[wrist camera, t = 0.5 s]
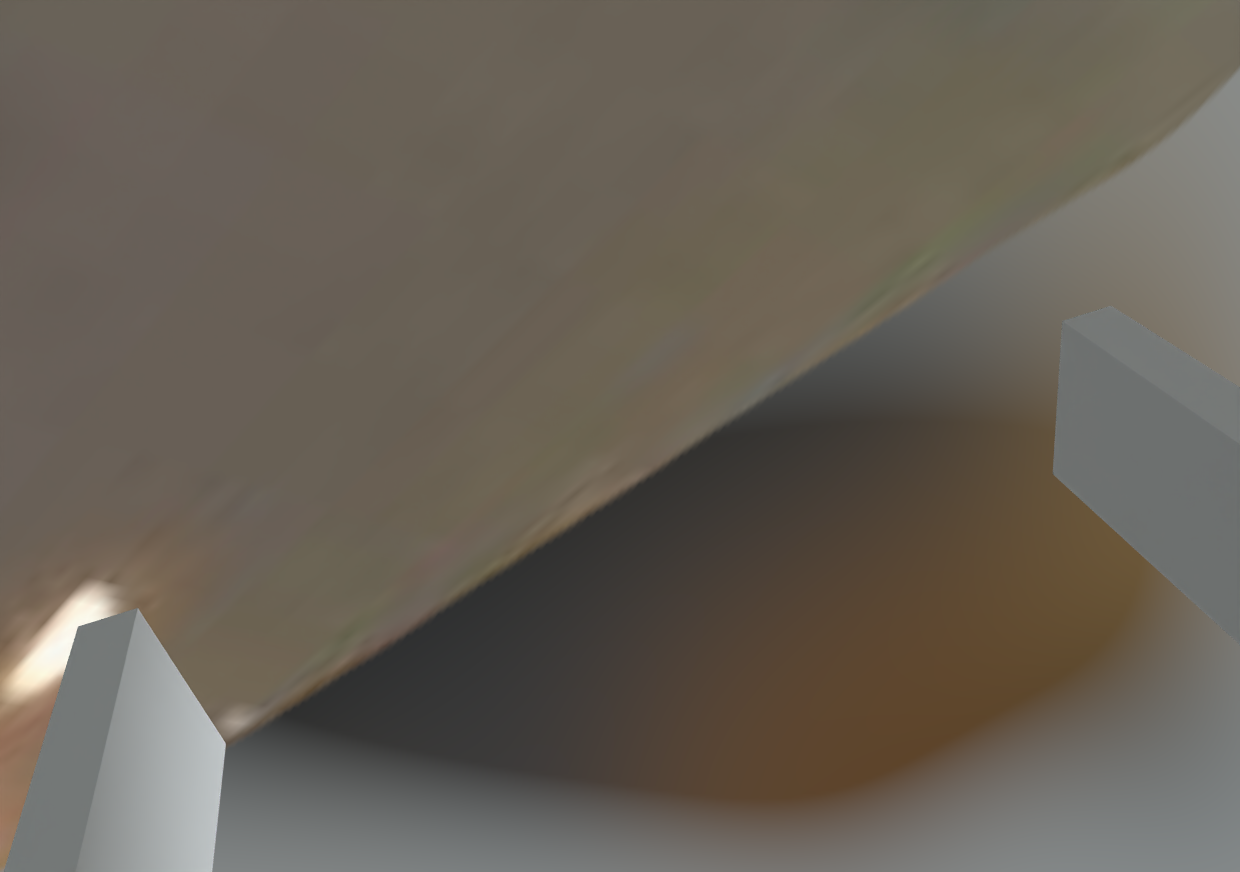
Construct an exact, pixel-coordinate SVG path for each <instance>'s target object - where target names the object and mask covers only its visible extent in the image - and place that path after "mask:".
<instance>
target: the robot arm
mask: <svg viewBox="0 0 1240 872" xmlns="http://www.w3.org/2000/svg"><path fill="white" fill-rule="evenodd" d="M1053 475H1055V476H1056V477H1057V478H1058V479H1059V480H1060V481H1061V482H1062V483H1063V484H1064V485H1065V486H1067V487H1068V488H1069V489H1070V490H1071V491H1072V492H1073V493H1074V494H1075V495H1076V496H1077V497H1079V498H1080V499H1081V500H1082V501H1083V502H1084V503H1085V504H1086V505H1087V506H1088V507H1089V508H1091V509H1092V510H1093V511H1094V512H1095V513H1096V514H1097V515H1098V516H1099V517H1101V518H1102V519H1103V520H1104V521H1105V522H1106V523H1107V524H1108V525H1109V526H1110V527H1111V528H1113V529H1114V530H1115V531H1116V532H1117V533H1118V534H1119V535H1120V536H1121V537H1122V538H1123V539H1125V540H1126V541H1127V542H1128V543H1129V544H1130V545H1131V546H1132V547H1134V549H1135V550H1136V551H1138V552H1139V553H1140V554H1141V555H1142V556H1143V557H1144V558H1145V559H1146V560H1147V561H1149V562H1150V563H1151V564H1152V565H1153V566H1154V567H1155V568H1156V569H1157V570H1158V571H1159V572H1161V573H1162V574H1163V575H1164V576H1165V577H1166V578H1167V579H1168V580H1169V581H1170V582H1171V583H1173V584H1174V585H1175V586H1176V587H1177V588H1178V589H1179V590H1180V591H1181V592H1182V593H1184V594H1185V595H1186V596H1187V597H1188V598H1189V599H1190V600H1191V601H1192V602H1193V603H1195V604H1196V605H1197V606H1198V607H1199V608H1200V609H1201V610H1202V611H1203V612H1204V613H1206V614H1207V615H1208V616H1209V617H1210V618H1211V619H1212V620H1213V621H1214V622H1215V623H1216V624H1218V625H1219V626H1220V627H1221V628H1222V629H1223V630H1224V631H1225V632H1226V633H1227V634H1228V635H1230V636H1231V637H1232V638H1233V639H1234V640H1235V641H1236V642H1237V643H1238V644H1239V645H1240V387H1238V386H1237V385H1236V384H1234V383H1232V382H1231V381H1229V380H1228V379H1226V378H1225V377H1223V376H1221V375H1220V374H1218V373H1217V372H1215V371H1213V370H1212V369H1210V368H1209V367H1207V366H1206V365H1204V364H1202V363H1201V362H1199V361H1197V360H1196V359H1194V358H1193V357H1191V356H1190V355H1188V354H1187V353H1185V352H1183V351H1182V350H1180V349H1179V348H1177V347H1175V346H1174V345H1172V344H1171V343H1169V342H1168V341H1166V340H1164V339H1163V338H1161V337H1160V336H1158V335H1156V334H1155V333H1153V332H1152V331H1150V330H1149V329H1147V328H1145V327H1144V326H1142V325H1141V324H1139V323H1138V322H1136V321H1134V320H1133V319H1131V318H1130V317H1128V316H1126V315H1125V314H1123V313H1121V312H1120V311H1119V310H1117V309H1115V308H1113V307H1112V306H1109V307H1106V308H1103V309H1100V310H1096V311H1093V312H1090V313H1087V314H1083V315H1080V316H1077V317H1074V318H1071V319H1067V320H1064V321H1062V334H1061V350H1060V367H1059V384H1058V398H1057V416H1056V432H1055V447H1054V464H1053ZM225 746H226V743H225V742H224V740H223V739H222V737H221V736H220V734H219V733H218V731H217V729H216V728H215V726H214V725H213V723H212V722H211V720H210V719H209V717H208V716H207V714H206V713H205V711H204V709H203V708H202V706H201V705H200V703H199V702H198V700H197V699H196V697H195V696H194V694H193V693H192V691H191V689H190V688H189V686H188V685H187V683H186V682H185V680H184V679H183V677H182V676H181V674H180V672H179V671H178V669H177V668H176V666H175V665H174V663H173V662H172V660H171V659H170V657H169V656H168V654H167V652H166V651H165V649H164V648H163V646H162V645H161V643H160V642H159V640H158V639H157V637H156V635H155V634H154V632H153V631H152V629H151V628H150V626H149V625H148V623H147V622H146V620H145V619H144V617H143V615H142V614H141V612H140V611H139V609H138V608H137V609H133V610H130V611H127V612H124V613H121V614H117V615H114V616H111V617H108V618H104V619H101V620H98V621H95V622H92V623H88V624H85V625H82V626H79V627H78V629H77V633H76V636H75V639H74V642H73V646H72V649H71V652H70V656H69V659H68V662H67V665H66V669H65V672H64V675H63V679H62V682H61V685H60V689H59V692H58V695H57V698H56V702H55V705H54V708H53V712H52V715H51V718H50V721H49V725H48V728H47V731H46V735H45V738H44V741H43V745H42V748H41V751H40V754H39V758H38V761H37V764H36V768H35V771H34V774H33V777H32V781H31V784H30V787H29V791H28V794H27V797H26V801H25V804H24V807H23V810H22V814H21V817H20V820H19V824H18V827H17V830H16V833H15V837H14V840H13V843H12V847H11V850H10V853H9V857H8V860H7V863H6V866H5V870H4V872H212V867H213V858H214V848H215V839H216V829H217V820H218V811H219V802H220V792H221V784H222V774H223V765H224V756H225Z"/></svg>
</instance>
